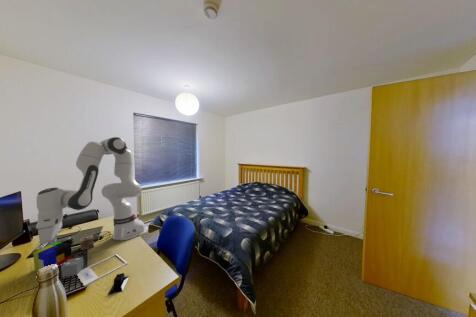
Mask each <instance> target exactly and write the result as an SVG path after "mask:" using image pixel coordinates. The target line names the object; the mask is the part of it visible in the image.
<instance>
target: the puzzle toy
mask: <svg viewBox="0 0 476 317" xmlns="http://www.w3.org/2000/svg"><path fill="white" fill-rule="evenodd" d="M32 255H33V265H34V271H35V272H39V271H38V270H39V269H41V268H43V267H45V266H48V265H51V264H57V265H60V264H62V263H64V262H67V261H68V260H69V259H73V256H72V255H73V254H72V243H71V242H70V243H68V242H60V241H56V242H55V243H54V244H49V245H47V246H45V247H42V248H40V249H39V250H36V251H34V252H32Z"/></svg>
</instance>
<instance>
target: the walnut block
mask: <svg viewBox="0 0 476 317" xmlns="http://www.w3.org/2000/svg"><path fill="white" fill-rule="evenodd" d="M79 241H80V251H81V250H83V249H86V250H88V249H92V248H95V244H94V235H93V234H90V235H87V236H84V237H80V240H79ZM83 251H84V250H83Z"/></svg>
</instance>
